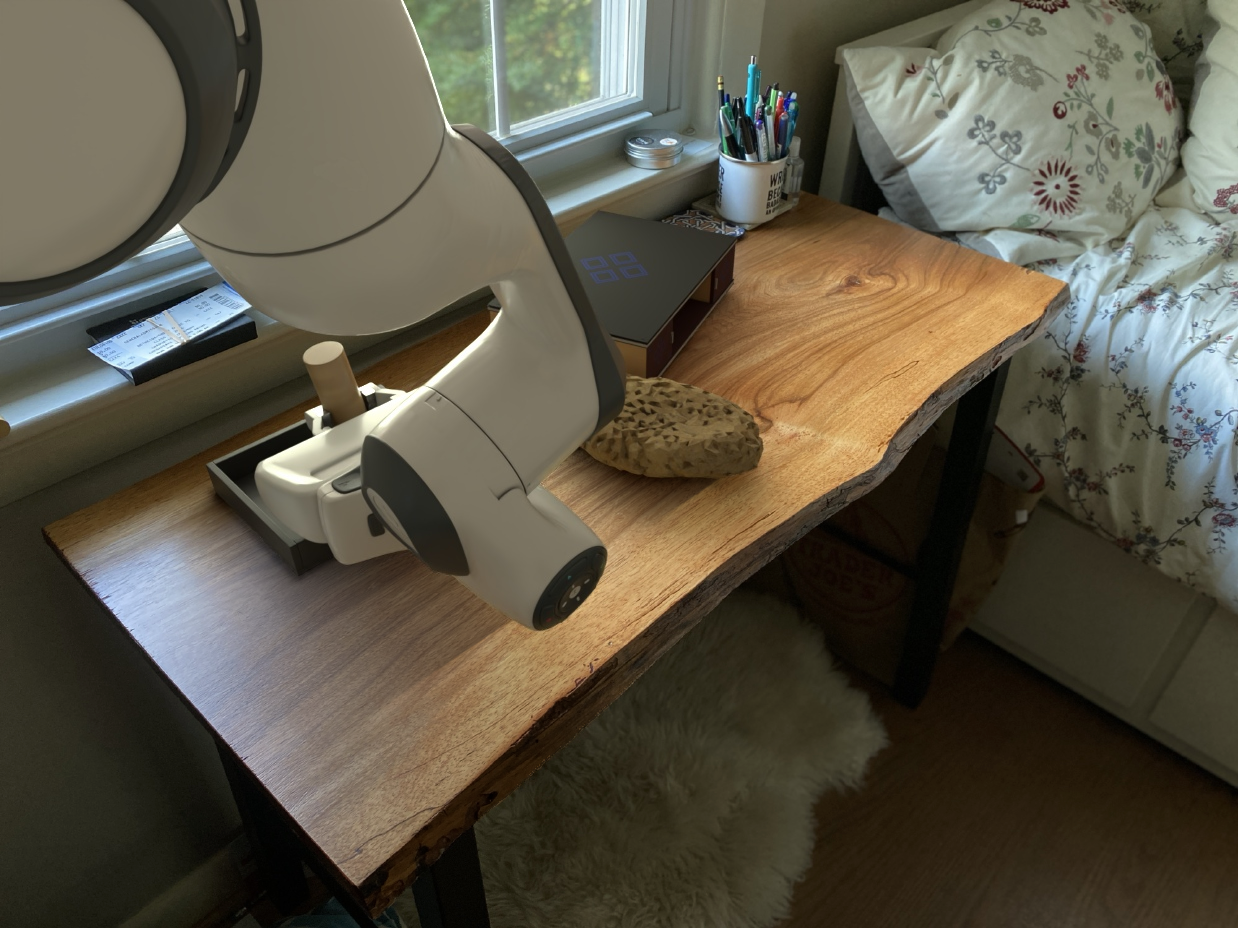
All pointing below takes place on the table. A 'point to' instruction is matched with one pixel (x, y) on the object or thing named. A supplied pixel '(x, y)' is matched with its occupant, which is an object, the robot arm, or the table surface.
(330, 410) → the tan cylinder
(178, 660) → the table surface
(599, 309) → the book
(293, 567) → the pan
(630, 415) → the sponge
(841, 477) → the table surface
